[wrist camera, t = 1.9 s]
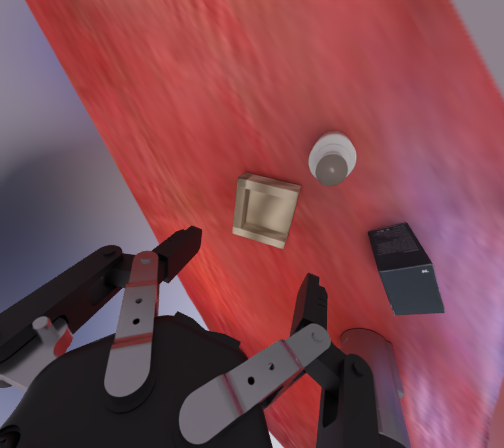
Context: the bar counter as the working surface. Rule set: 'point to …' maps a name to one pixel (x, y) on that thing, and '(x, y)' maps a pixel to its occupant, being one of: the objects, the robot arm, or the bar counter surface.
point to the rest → (264, 209)
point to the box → (405, 271)
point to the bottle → (332, 158)
